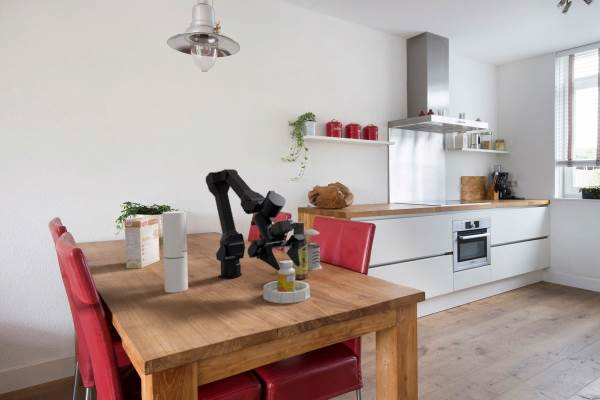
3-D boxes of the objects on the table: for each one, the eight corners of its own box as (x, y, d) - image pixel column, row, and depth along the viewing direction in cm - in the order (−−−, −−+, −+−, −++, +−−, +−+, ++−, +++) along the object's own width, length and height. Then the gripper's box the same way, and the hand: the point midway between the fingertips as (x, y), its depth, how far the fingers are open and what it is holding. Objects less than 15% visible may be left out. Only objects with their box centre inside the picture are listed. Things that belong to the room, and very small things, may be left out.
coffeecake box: (145, 260, 170) (143, 216, 169) (160, 260, 169) (158, 216, 168) (125, 268, 156) (123, 220, 154) (141, 268, 155) (140, 220, 154)
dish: (254, 299, 113) (254, 289, 113) (277, 287, 125) (277, 278, 125) (297, 306, 107) (297, 295, 107) (317, 292, 119) (317, 282, 119)
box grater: (326, 266, 155) (326, 204, 153) (312, 272, 145) (311, 206, 143) (305, 263, 160) (305, 203, 158) (290, 269, 150) (289, 205, 149)
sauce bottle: (306, 280, 134) (305, 223, 133) (288, 279, 135) (287, 223, 134) (309, 275, 140) (308, 221, 139) (292, 275, 141) (291, 221, 140)
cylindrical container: (192, 287, 127) (190, 211, 125) (178, 293, 120) (176, 213, 119) (174, 285, 129) (172, 211, 128) (159, 291, 122) (157, 213, 121)
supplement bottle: (274, 292, 117) (273, 260, 117) (289, 289, 120) (289, 258, 119) (282, 296, 112) (282, 263, 112) (298, 293, 115) (298, 261, 115)
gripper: (251, 212, 112) (274, 255, 104) (301, 208, 124) (325, 247, 116) (238, 236, 118) (258, 279, 110) (286, 230, 130) (308, 268, 122)
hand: (289, 267), depth 114 cm, fingers open, 7 cm apart
